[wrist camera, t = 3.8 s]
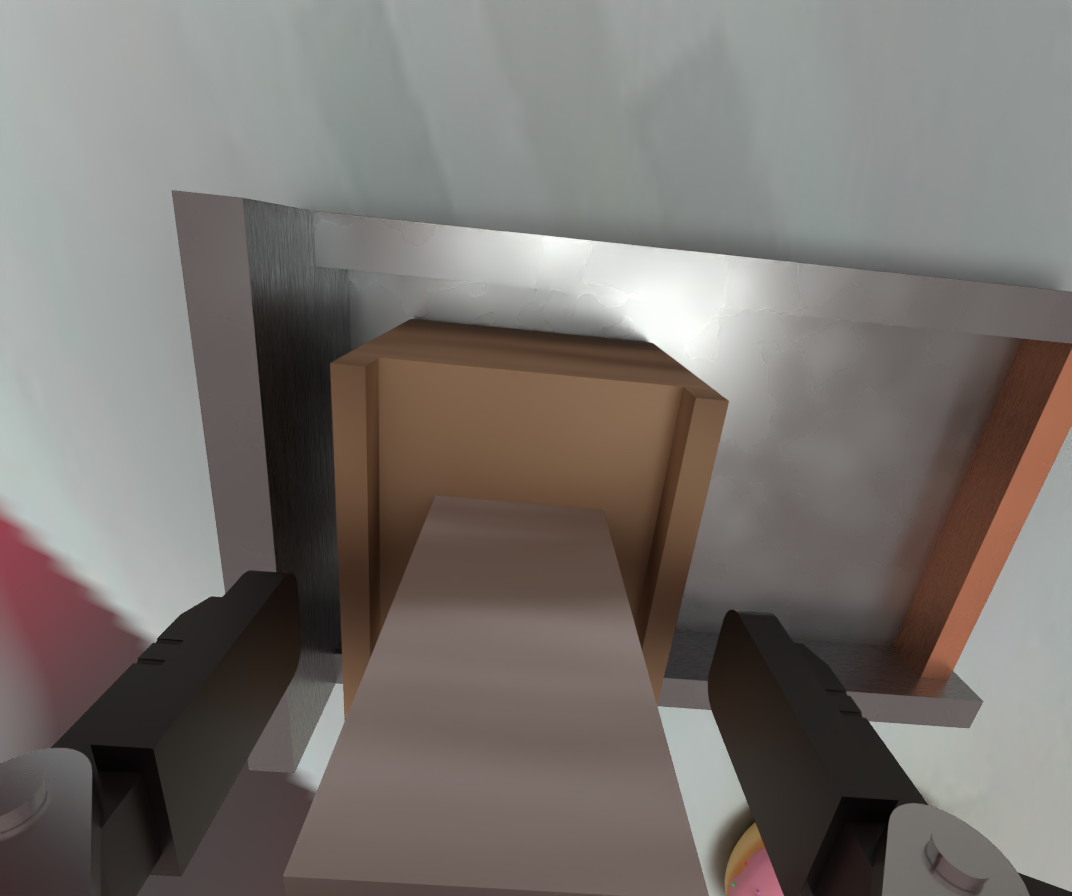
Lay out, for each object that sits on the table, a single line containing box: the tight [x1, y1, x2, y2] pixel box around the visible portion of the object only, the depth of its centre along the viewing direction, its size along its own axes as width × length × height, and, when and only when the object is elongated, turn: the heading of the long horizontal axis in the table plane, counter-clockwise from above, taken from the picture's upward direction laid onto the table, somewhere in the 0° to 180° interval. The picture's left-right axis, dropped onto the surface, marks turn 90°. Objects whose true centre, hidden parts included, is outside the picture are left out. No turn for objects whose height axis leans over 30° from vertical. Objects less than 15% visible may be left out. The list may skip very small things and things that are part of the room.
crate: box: [283, 319, 729, 896], centre depth 11 cm, size 9×7×12 cm
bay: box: [172, 190, 1072, 773], centre depth 15 cm, size 14×23×6 cm, turn 84°
